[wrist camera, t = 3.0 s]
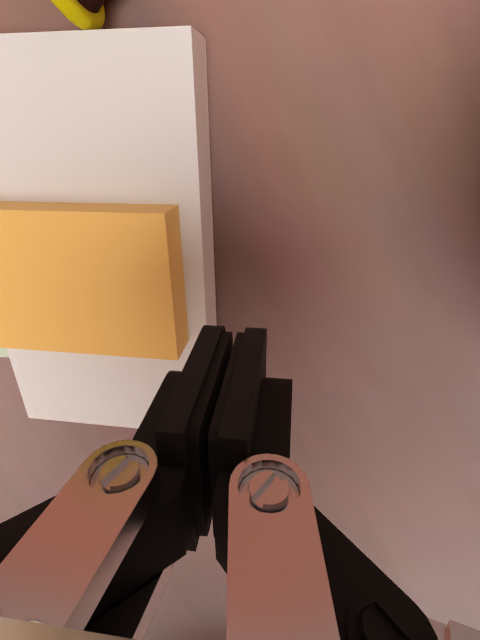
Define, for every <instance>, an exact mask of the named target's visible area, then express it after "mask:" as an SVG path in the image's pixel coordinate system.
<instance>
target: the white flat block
mask: <svg viewBox="0 0 480 640" xmlns="http://www.w3.org/2000/svg"><path fill="white" fill-rule="evenodd" d="M0 201H13V202H65V203H118V204H170V205H179V218H180V231H181V244H182V257H183V271H184V284H185V297H186V310H187V323H188V337H189V341H188V343H187V345H186V347H185V348H184V350H183V352H182V354H181V356H180V358H179V360H178V361H177V360H163V359H150V358H136V357H122V356H109V355H95V354H81V353H67V352H54V351H40V350H26V349H13V348H6V349H7V352H8V355H9V358H10V361H11V364H12V367H13V370H14V374H15V377H16V380H17V383H18V386H19V389H20V392H21V396H22V399H23V402H24V405H25V408H26V411H27V414H28V417H29V418H36V419H47V420H57V421H67V422H77V423H87V424H98V425H108V426H118V427H128V428H139V426H140V424H141V422H142V420H143V418H144V416H145V415H146V413H147V411H148V409H149V407H150V405H151V403H152V401H153V399H154V397H155V395H156V393H157V391H158V389H159V388H160V386H161V384H162V382H163V380H164V378H165V376H166V374H167V373H168V372H169V371H171V370H172V371H182V370H183V368H184V366H185V363H186V361H187V359H188V357H189V355H190V353H191V350H192V348H193V346H194V344H195V342H196V340H197V338H198V335H199V333H200V331H201V329H202V327H203V325H213V326H217V319H216V293H215V267H214V240H213V214H212V188H211V162H210V136H209V109H208V83H207V57H206V38H204V37H203V36H202V35H201V34H200V33H199V32H198V31H197V30H195V29H194V28H193V27H192V26H168V27H144V28H121V29H98V30H74V31H51V32H27V33H4V34H0Z"/></svg>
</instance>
